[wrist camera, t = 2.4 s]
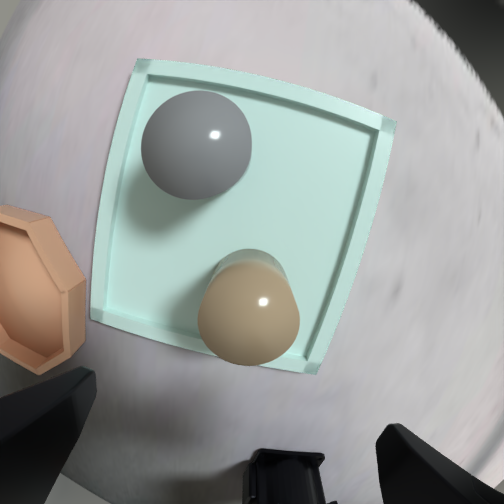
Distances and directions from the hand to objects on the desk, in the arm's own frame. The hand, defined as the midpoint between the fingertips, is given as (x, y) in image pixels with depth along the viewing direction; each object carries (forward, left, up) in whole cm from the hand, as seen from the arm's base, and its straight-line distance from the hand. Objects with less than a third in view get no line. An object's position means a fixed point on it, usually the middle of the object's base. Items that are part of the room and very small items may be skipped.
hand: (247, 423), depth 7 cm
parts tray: (+2, -4, -12) cm, 12 cm away
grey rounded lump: (+4, -7, -11) cm, 14 cm away
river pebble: (0, 0, -11) cm, 11 cm away
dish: (+18, +5, -12) cm, 22 cm away
